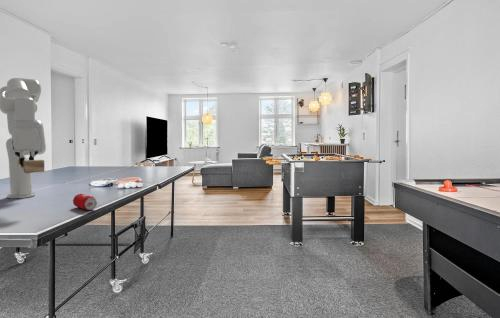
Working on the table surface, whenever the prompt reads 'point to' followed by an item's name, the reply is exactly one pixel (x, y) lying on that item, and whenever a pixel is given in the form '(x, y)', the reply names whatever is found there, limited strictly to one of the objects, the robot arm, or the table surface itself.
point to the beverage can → (84, 202)
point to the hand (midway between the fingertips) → (26, 165)
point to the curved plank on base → (32, 166)
